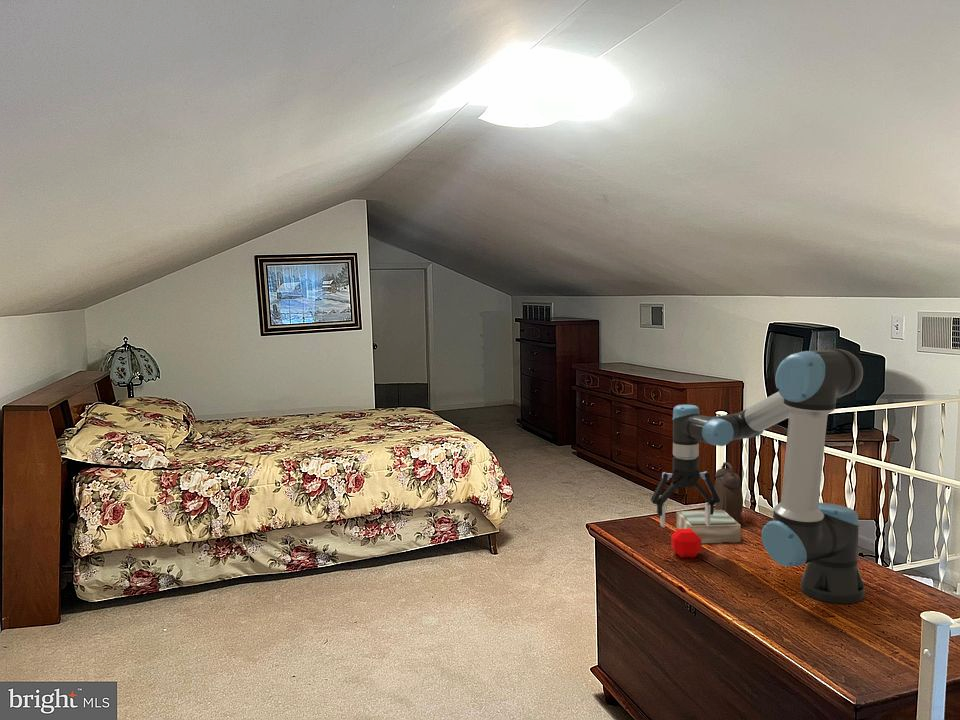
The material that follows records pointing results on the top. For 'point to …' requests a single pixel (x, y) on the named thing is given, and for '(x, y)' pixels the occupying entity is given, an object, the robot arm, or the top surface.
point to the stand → (717, 532)
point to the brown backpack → (728, 491)
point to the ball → (686, 543)
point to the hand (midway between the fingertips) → (685, 525)
